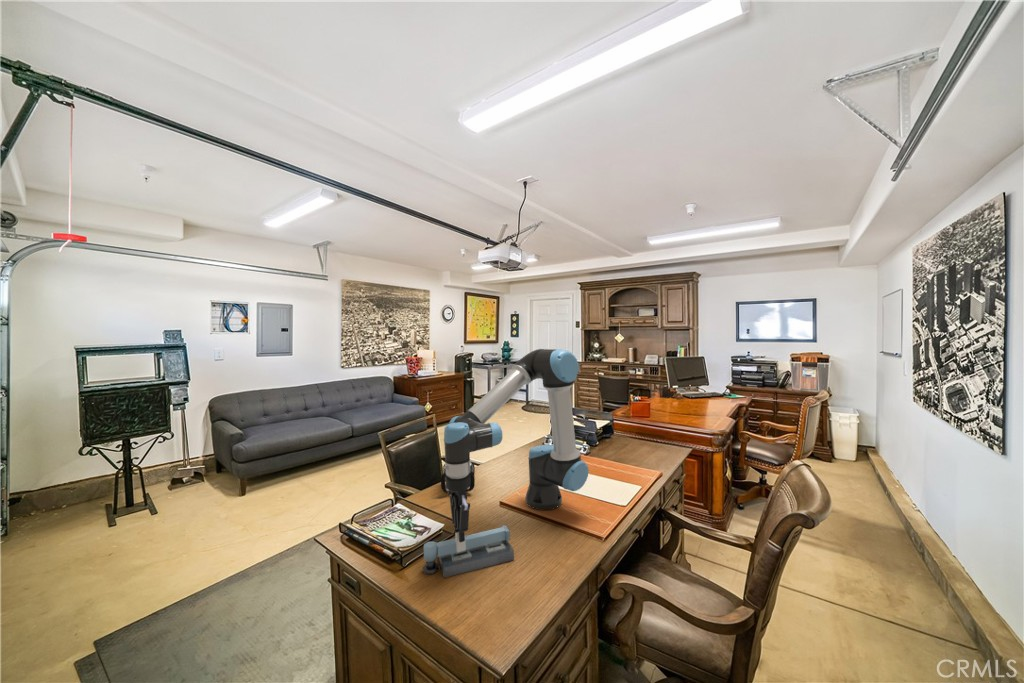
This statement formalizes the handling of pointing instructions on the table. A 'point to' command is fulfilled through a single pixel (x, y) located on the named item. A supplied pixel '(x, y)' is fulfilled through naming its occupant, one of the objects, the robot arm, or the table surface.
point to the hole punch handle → (471, 542)
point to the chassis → (476, 558)
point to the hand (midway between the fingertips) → (460, 550)
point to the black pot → (472, 477)
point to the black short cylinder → (430, 567)
